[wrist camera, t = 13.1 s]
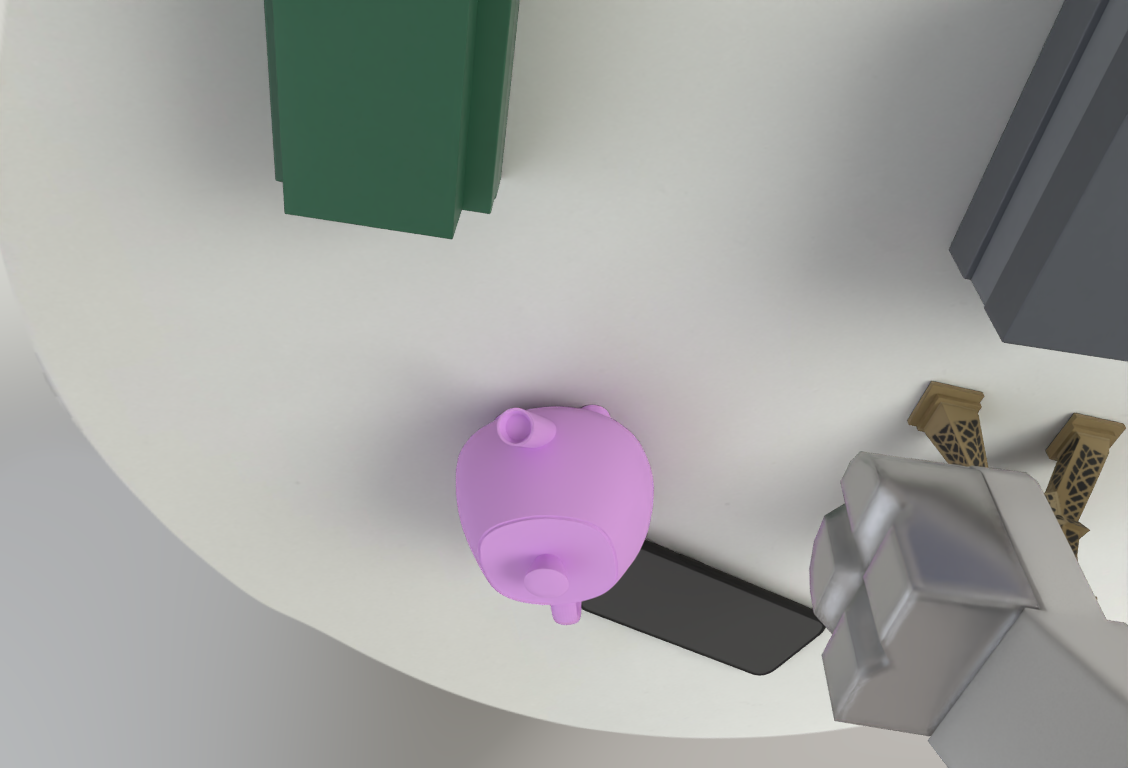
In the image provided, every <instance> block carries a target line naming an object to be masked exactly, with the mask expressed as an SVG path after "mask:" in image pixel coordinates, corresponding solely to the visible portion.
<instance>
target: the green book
mask: <svg viewBox="0 0 1128 768" xmlns="http://www.w3.org/2000/svg"><path fill="white" fill-rule="evenodd" d="M272 9H273V26H274V43H275V59H276V76H277V93H278V110H279V127H280V144H281V161H282V177H283V194H284V211H285V214H290V215H297V216H303V217H310V218H316V219H323V220H329V221H336V222H342V223H349V224H355V225H362V226H368V227H375V228H382V229H388V230H395V231H401V232H408V233H414V234H421V235H427V236H434V237H440V238H447V239H453V236H454V233H455V230H456V226H457V223H458V220H459V217H460V214H461V211H462V203H463V190H464V177H465V164H466V151H467V138H468V125H469V112H470V99H471V86H472V74H473V61H474V48H475V35H476V22H477V9H478V0H272Z"/></svg>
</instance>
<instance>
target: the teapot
mask: <svg viewBox="0 0 1128 768" xmlns="http://www.w3.org/2000/svg"><path fill="white" fill-rule="evenodd" d="M456 495H457V505H458V512H459V516H460V520H461V524H462V528H463V531H464V534H465V536H466V539H467V541H468V544H469V546H470V548H471V550H472V553H473V555H474V557H475V559H476V561H477V563H478V565H479V567H480V568H481V570H482V572H483V574H484V575H485V577H486V579H487V580H488V582H489V583H490V584H491V586H492V587H493V588H494V589H495V590H496V591H497V592H499V593H500V594H502V595H504V596H506V597H508V598H510V599H513V600H516V601H520V602H525V603H531V604H541V605H551V610H552V615H553V619H554V621H555V622H557V623H558V624H562V625H571V624H575V623H577V622H578V621H579V620H580V617H581V603H582V601H585V600H588V599H592V598H595V597H597V596H600V595H602V594H604V593H605V592H607V591H608V590H610V589H611V588H612V587H613V586H614V585H615V584H616V583H617V582H618V581H619V579H620V578H621V577H622V576H623V574H624V573H625V572H626V570H627V569H628V568H629V566H630V565H631V564H632V562H633V561H634V559H635V558H636V556H637V555H638V553H639V551H640V549H641V547H642V545H643V542H644V540H645V538H646V536H647V532H648V529H649V525H650V519H651V514H652V508H653V495H654V485H653V476H652V472H651V467H650V465H649V462H648V459H647V456H646V454H645V452H644V450H643V448H642V446H641V444H640V443H639V441H638V440H637V439H636V437H635V436H634V435H633V434H632V433H631V432H630V431H629V430H627V429H626V428H625V427H624V426H623V425H621V424H620V423H618V422H616V421H615V420H613V419H612V418H610V415H609V413H608V411H607V410H606V409H604V408H603V407H601V406H598V405H587V406H584V407H582V408H581V409H579V408H572V407H556V406H553V407H540V408H532V409H528V410H524V409H521V408H511V409H508V410H506V411H505V412H503V414H501V415H499V416H498V417H496V419H495V420H494V421H493V422H491V423H489V424H488V425H486V426H484V427H482V428H481V429H479V430H478V431H477V432H475V433H474V434H473V435H472V436H471V437H470V438H469V440H468V441H467V442H466V443H465V445H464V446H463V448H462V450H461V452H460V454H459V458H458V462H457V468H456Z"/></svg>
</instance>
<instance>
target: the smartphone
mask: <svg viewBox="0 0 1128 768" xmlns="http://www.w3.org/2000/svg"><path fill="white" fill-rule="evenodd" d="M581 608H582V609H583V610H585V611H587V612H590V613H593V614H595V615H597V616H600V617H603V618H606V619H608V620H611V621H613V622H616V623H619V624H621V625H624V626H627V627H629V628H632V629H634V630H637V631H640V632H642V633H645V634H648V635H650V636H653V637H656V638H658V639H661V640H664V641H666V642H669V643H671V644H674V645H677V646H679V647H682V648H685V649H687V650H690V651H693V652H695V653H698V654H700V655H703V656H706V657H708V658H711V659H714V660H716V661H719V662H722V663H724V664H727V665H730V666H732V667H735V668H737V669H740V670H743V671H745V672H748V673H751V674H753V675H766V674H769V673H771V672H773V671H774V670H776V669H777V668H778V667H780V666H781V665H782V664H783V663H785V662H786V661H787V660H788V659H790V658H791V657H792V656H794V655H795V654H796V653H797V652H799V651H800V650H801V649H802V648H804V647H805V646H806V645H808V644H809V643H810V642H811V641H813V640H814V639H815V638H816V637H818V636H819V635H820V634H821V633H822V632H823V631H824V629H825V628H826V627H825V625H824V624H823V623H822V622H821V621H820V620H819V619H818V618H817V617H816V615H815V614H814V611H813V609H811V608H809V607H806V606H804V605H801V604H799V603H797V602H794V601H792V600H789V599H787V598H784V597H782V596H780V595H777V594H775V593H772V592H770V591H768V590H765V589H763V588H760V587H758V586H756V585H753V584H751V583H748V582H746V581H744V580H741V579H739V578H736V577H734V576H732V575H729V574H727V573H724V572H722V571H720V570H717V569H715V568H712V567H710V566H708V565H705V564H704V563H701V562H699V561H696V560H694V559H692V558H689V557H687V556H684V555H682V554H679V553H676V552H674V551H671V550H669V549H667V548H664V547H662V546H659V545H657V544H655V543H652V542H650V541H647V540H644V542H643V545H642V547H641V549H640V551H639V553H638V555H637V556H636V558H635V559H634V561H633V562H632V564H631V565H630V566H629V568H628V569H627V570H626V572H625V573H624V574H623V576H622V577H621V578H620V579H619V581H618V582H617V583H616V584H615V585H614V586H613V587H612V588H611V589H610V590H608V591H607V592H605V593H604V594H602V595H600V596H597V597H595V598H592V599H588V600H585V601H582V603H581Z"/></svg>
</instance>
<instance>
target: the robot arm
mask: <svg viewBox="0 0 1128 768" xmlns="http://www.w3.org/2000/svg"><path fill="white" fill-rule="evenodd" d="M840 483H841V487H842V492H843V496H844V500H845V504H843V505H842V506H840V507H838V508H837V509H835V510H833V511H832V512H830V513H828V514H827V515H825V516H824V518H823V521H822V523H821V525H820V528H819V530H818V533H817V535H816V538H815V540H814V544H813V550H812V556H811V562H810V568H809V570H810V594H811V599H812V605H813V611H814V614H815V615H816V617H817V618H818V619H819V620H820V621H821V622H822V623H823V624H824V625H825V627H826V628H827V629H828V630H829V631H830V632H831V633H832V636H831V638H830V640H829V642H828V644H827V646H826V648H825V650H824V652H823V654H822V659H823V665H824V670H825V675H826V680H827V685H828V690H829V695H830V700H831V705H832V711H833V716H834V721H838V722H845V723H851V724H857V725H863V726H869V727H876V728H882V729H888V730H894V731H900V732H906V733H913V734H919V735H925V736H931V737H930V738H929V740H928V742H929V743H930V744H931V746H932V747H933V748H934V750H935V751H936V752H937V754H938V755H939V756H940V758H941V759H942V761H943V762H944V763H945V764H946V765H947V767H948V768H1128V625H1127V624H1126V623H1124V622H1117V621H1111V620H1107V619H1106V617H1105V615H1104V613H1103V611H1102V609H1101V607H1100V605H1099V603H1098V601H1097V599H1096V597H1095V595H1094V593H1093V591H1092V589H1091V587H1090V585H1089V583H1088V581H1087V579H1086V577H1085V575H1084V573H1083V571H1082V569H1081V567H1080V565H1079V563H1078V561H1077V559H1076V557H1075V555H1074V553H1073V551H1072V549H1071V547H1070V545H1069V543H1068V541H1067V539H1066V537H1065V535H1064V533H1063V531H1062V529H1061V527H1060V525H1059V523H1058V521H1057V519H1056V517H1055V515H1054V513H1053V511H1052V509H1051V507H1050V505H1049V503H1048V501H1047V499H1046V497H1045V495H1044V493H1043V491H1042V489H1041V487H1040V485H1039V483H1038V482H1037V481H1036V480H1035V479H1034V478H1032V477H1031V476H1030V475H1029V474H1027V473H1026V472H1018V471H1010V470H1002V469H994V468H986V467H978V466H969V467H966V466H961V465H954V464H947V463H940V462H933V461H926V460H919V459H912V458H905V457H897V456H890V455H883V454H876V453H869V452H862V451H860V452H859V453H858V454H857V455H856V456H855V457H854V458H853V459H852V460H851V461H850V463H849V465H848V467H847V469H846V471H845V473H844V475H843V477H842V479H841V481H840Z"/></svg>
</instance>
